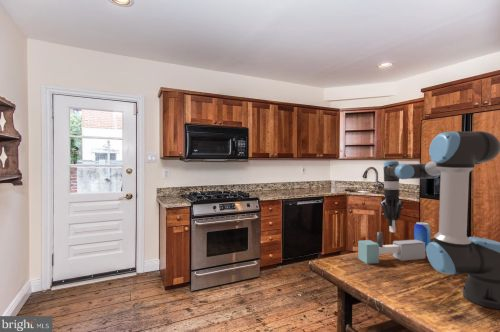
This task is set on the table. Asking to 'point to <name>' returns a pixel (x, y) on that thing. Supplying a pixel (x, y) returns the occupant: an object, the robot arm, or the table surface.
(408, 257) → the white rectangular box
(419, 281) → the table surface
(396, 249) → the sliding bolt with handle
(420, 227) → the beer can
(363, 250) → the socket block
